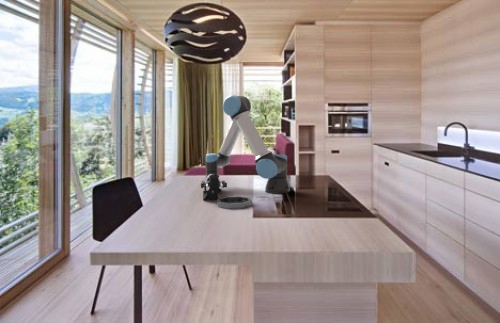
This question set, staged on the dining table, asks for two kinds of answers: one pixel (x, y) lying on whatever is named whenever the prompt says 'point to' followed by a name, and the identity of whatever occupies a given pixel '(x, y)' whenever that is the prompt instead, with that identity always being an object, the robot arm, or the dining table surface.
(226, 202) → the dark grey octagonal bowl
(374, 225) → the dining table surface
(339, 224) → the dining table surface
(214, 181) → the scope
